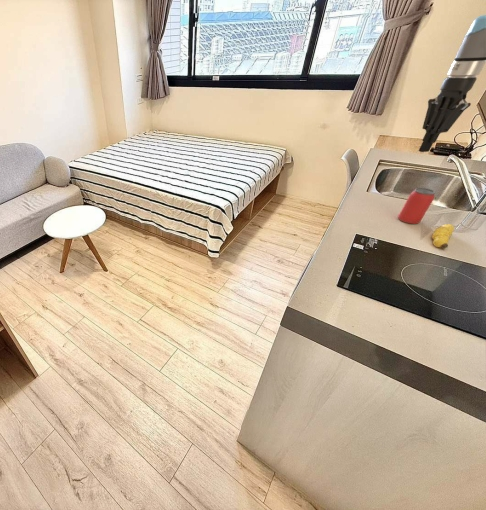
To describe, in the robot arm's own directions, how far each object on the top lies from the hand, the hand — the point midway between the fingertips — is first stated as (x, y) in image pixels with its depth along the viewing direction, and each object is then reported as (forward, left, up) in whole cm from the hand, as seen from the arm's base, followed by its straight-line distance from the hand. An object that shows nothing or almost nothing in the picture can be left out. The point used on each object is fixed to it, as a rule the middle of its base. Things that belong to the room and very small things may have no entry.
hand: (423, 151), depth 103 cm
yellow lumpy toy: (-8, +25, -22) cm, 34 cm away
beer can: (-2, +14, -22) cm, 26 cm away
